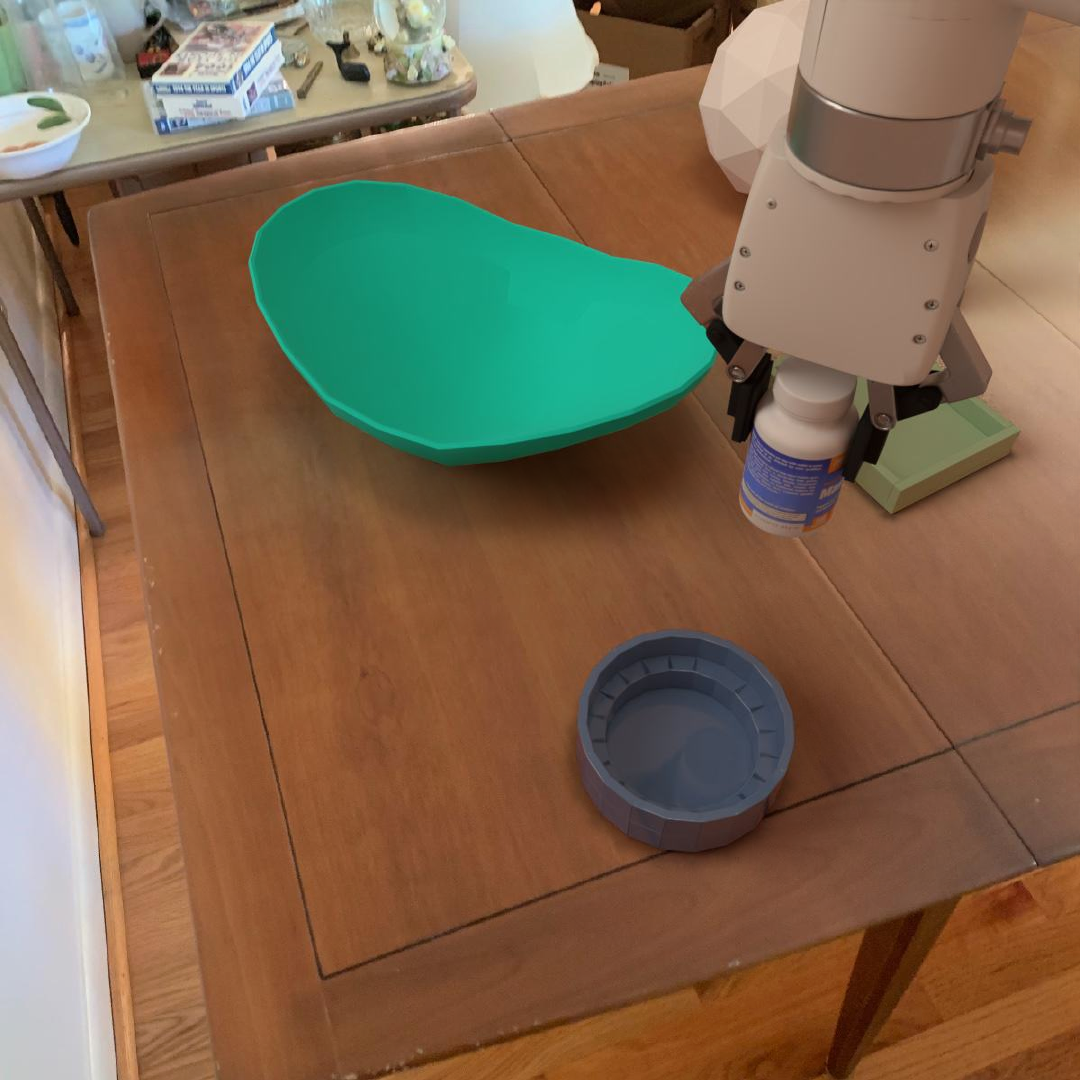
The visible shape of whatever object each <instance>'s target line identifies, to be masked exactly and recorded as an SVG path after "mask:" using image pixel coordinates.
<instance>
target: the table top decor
mask: <svg viewBox="0 0 1080 1080" xmlns="http://www.w3.org/2000/svg"><path fill="white" fill-rule="evenodd" d="M247 264H248V269H249V273H250V277H251V282H252V287H253V292H254V297H255V301H256V304H257V306H258V308H259V310H260V312H261V314H262V316H263V317H264V319H265V321H266V322H267V325H268V326H269V328H270V330H271V332H272V334H273V335H274V337H275V339H276V341H277V343H278V344H279V346H280V348H281V350H282V351H283V353H284V354H285V356H286V357H287V359H288V360H289V362H290V363H291V364H292V366H293V367H294V369H295V370H296V371H297V372H298V373H299V375H300V376H301V377H302V378H303V379H304V380H305V381H306V383H307V384H308V386H310V387H311V389H312V390H313V391H314V392H315V394H316V395H317V396H318V397H319V398H320V400H321V401H322V402H323V403H324V404H325V405H326V406H327V408H328V409H329V410H330V411H331V412H332V414H333V415H334V416H336V417H337V418H339V419H340V420H343V421H344V422H346V423H348V424H350V425H351V426H352V427H353V426H354V427H355V428H357V429H358V430H360V431H362V432H364V433H366V434H367V435H369V436H371V437H372V438H374V439H376V440H378V441H380V442H381V443H383V444H385V445H387V446H389V447H391V448H393V449H395V450H397V451H400V452H403V453H406V454H409V455H412V456H415V457H418V458H421V459H424V460H428V461H430V462H434V463H437V464H440V465H443V466H446V467H458V466H459V467H460V466H469V465H478V464H488V463H489V464H490V463H499V462H506V461H511V460H515V459H519V458H524V457H529V456H533V455H539V454H543V453H547V452H553V451H556V450H561V449H564V448H568V447H570V446H574V445H577V444H580V443H584V442H587V441H590V440H594V439H597V438H600V437H603V436H607V435H610V434H613V433H616V432H619V431H622V430H626V429H628V428H630V427H632V426H635V425H638V424H639V423H642V422H644V421H646V420H648V419H650V418H652V417H655V416H658V415H660V414H662V413H664V412H667V411H669V410H671V409H673V408H674V407H675V406H676V405H678V404H679V403H680V402H681V401H682V400H683V399H684V398H685V397H686V396H688V395H689V394H690V393H691V392H692V391H693V390H694V389H696V388H697V387H698V386H699V385H700V384H701V383H702V382H703V381H704V379H705V377H706V376H707V375H708V373H710V371H711V369H712V368H713V366H714V364H715V362H716V358H717V356H718V354H719V353H718V352H717V350H716V349H715V348H714V346H713V345H712V344H711V342H710V341H709V340H708V338H707V336H706V329H705V328H704V327H703V325H702V326H700V325H699V323H698V322H697V321H696V320H695V319H694V317H693V316H692V315H691V314H690V313H689V312H688V310H687V309H686V308H685V307H684V306H683V304H682V303H681V300H680V297H681V294H682V293H683V292H684V290H685V289H686V287H687V286H688V285H689V283H690V282H691V281H692V280H693V279H694V278H692V277H690V276H687V275H685V274H682V273H680V272H677V271H675V270H673V269H671V268H669V267H665V266H664V265H661V264H658V263H654V262H648V261H643V260H637V259H631V258H624V257H619V256H613V255H610V254H608V253H606V252H603V251H601V250H598V249H595V248H592V247H590V246H588V245H585V244H582V243H580V242H577V241H574V240H572V239H569V238H567V237H564V236H561V235H557V234H553V233H550V232H547V231H542V230H539V229H535V228H532V227H529V226H525V225H521V224H517V223H515V222H511V221H510V220H507V219H505V218H503V217H501V216H498V215H496V214H494V213H492V212H490V211H487V210H485V209H483V208H481V207H479V206H477V205H475V204H472V203H470V202H469V201H466V200H463V199H461V198H459V197H456V196H452V195H449V194H445V193H441V192H438V191H435V190H432V189H431V190H430V189H427V188H423V187H420V186H417V185H413V184H409V183H405V182H394V181H393V182H392V181H391V182H390V181H379V180H378V181H377V180H362V179H354V180H349V181H348V180H347V181H344V182H339V183H335V184H330V185H325V186H321V187H316V188H313V189H311V190H309V191H307V192H305V193H303V194H301V195H299V196H298V197H296V198H294V199H292V200H290V201H288V202H287V203H284V204H282V205H281V206H279V208H277V210H276V211H275V212H274V213H273V214H272V215H271V216H270V217H269V218H268V219H267V220H266V221H265V222H264V223H263V224H262V226H260V227H259V229H258V230H257V231H256V233H255V237H254V241H253V244H252V248H251V252H250V255H249V259H248V263H247Z"/></svg>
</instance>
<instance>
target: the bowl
mask: <svg viewBox="0 0 1080 1080" xmlns="http://www.w3.org/2000/svg"><path fill="white" fill-rule="evenodd" d="M576 722H577V724H576V726H577V727H576V744H575V745H576V748H575V757H576V758H575V759H576V763H577V767H578V770H579V775H580V779H581V782H582V786H583V788H584V790H585V792H586V793H587V795H588V796H589V798H590V799H591V801H592V803H593V804H594V805H595V807H596V809H597V810H598V811H599V813H600V814H601V815H602V816H603V817H604V818H605V819H606V820H608V822H610V823H611V824H612V825H613V826H615V827H616V828H617V829H619V830H620V831H621V832H622V833H624V835H626V836H628V837H630V838H633V839H635V840H637V841H639V842H642V843H645V844H647V845H649V846H652V847H654V848H656V849H659V850H666V851H676V852H688V853H697V852H702V851H706V850H711V849H715V848H720V847H725V846H728V845H729V844H731V843H733V842H735V841H737V840H738V839H739V838H742V836H744V835H746V834H747V833H750V832H751V831H752V830H754V829H755V828H756V827H757V826H758V825H759V823H760V822H761V821H762V819H763V818H764V817H765V816H766V814H767V813H768V812H769V810H770V809H772V806H773V805H774V804H775V801H776V798H777V796H778V793H779V791H780V789H781V786H782V784H783V782H784V779H785V778H786V775H787V772H788V768H789V765H790V761H791V759H792V756H793V752H794V749H795V746H796V740H795V724H794V723H795V722H794V713H793V710H792V708H791V705H790V702H789V700H788V698H787V696H786V694H785V691H784V689H783V687H782V684H781V683H780V682H779V681H778V680H777V678H775V676H774V675H773V674H772V672H770V670H769V669H768V668H767V667H766V665H765V664H764V663H763V662H762V661H761V660H760V659H759V658H757V657H756V656H754V655H753V654H751V653H750V652H748V651H747V650H745V649H744V648H743V647H741V646H740V645H738V644H736V643H735V642H733V641H731V640H729V639H725V638H723V637H719V636H717V635H713V634H711V633H708V632H705V631H703V630H702V631H701V630H689V629H688V630H687V629H677V628H668V629H663V630H658V631H652V632H647V633H642V634H638V635H636V636H634V637H632V638H630V639H628V640H626V641H624V642H622V643H621V644H619V645H617V646H615V647H613V648H612V649H611V650H610V651H609V652H608V653H607V654H605V656H604V657H602V659H601V660H599V662H598V663H597V664H596V665H594V666H593V668H592V669H591V670H590V673H589V675H588V678H587V679H586V682H585V683H584V685H583V687H582V690H581V692H580V694H579V701H578V713H577V721H576Z"/></svg>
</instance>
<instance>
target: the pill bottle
mask: <svg viewBox="0 0 1080 1080" xmlns="http://www.w3.org/2000/svg"><path fill="white" fill-rule="evenodd" d="M856 387H857V376H856V375H852V374H849V373H846V372H842V371H839V370H836V369H833V368H829V367H826V366H823V365H820V364H816V363H813V362H810V361H807V360H804V359H801V358H798V357H794V356H791V355H790V356H788V357H787V358H785V359H784V360H783V361H782V362H781V363H780V365H779V367H778V369H777V373H776V376H775V380H774V383H773V387H771V388H770V389H769V390H767V391H766V392H765V393H764V394H763V395H762V397H761V398H760V400H759V402H758V404H757V406H756V410H755V415H754V420H753V426H752V431H751V433H750V438H749V443H748V448H747V453H746V460H745V464H744V469H743V474H742V479H741V483H740V488H739V495H738V496H739V497H738V498H739V499H738V500H739V506H740V508H741V511H742V513H743V515H744V516H745V517H746V518H747V520H748V521H749V522H750V523H751V524H752V525H754V526H755V527H757V528H758V529H760V530H761V531H763V532H766V533H768V534H769V535H772V536H776V537H780V538H788V539H796V538H798V539H799V538H804V537H808V536H811V535H814V534H815V533H817V532H820V530H821V529H823V528H824V527H825V526H826V525H827V524H828V523H829V521H830V520H831V518H832V516H833V514H834V511H835V508H836V505H837V502H838V499H839V497H840V493H841V490H842V486H843V483H844V481H845V480H844V477H843V476H841V474H842V471H843V468H844V465H845V462H846V459H847V456H848V452H849V449H850V446H851V443H852V440H853V437H854V434H855V430H856V428H857V425H858V423H859V421H860V419H859V413H858V410H857V408H856V406H855V405H854V403H853V401H854V397H855V391H856Z"/></svg>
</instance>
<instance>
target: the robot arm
mask: <svg viewBox="0 0 1080 1080" xmlns="http://www.w3.org/2000/svg"><path fill="white" fill-rule="evenodd" d="M1029 12H1030V13H1034V14H1038V15H1041V16H1045V17H1049V18H1052V19H1055V20H1057V21H1061V22H1065V23H1067V24H1071V25H1074V26H1077V27H1080V0H810V4H809V9H808V14H807V19H806V24H805V29H804V35H803V40H802V46H801V52H800V58H799V63H798V67H797V72H796V78H795V83H794V89H793V94H792V100H791V105H790V110H789V113H788V114H786V115H784V116H783V117H782V118H781V119H780V120H779V121H778V122H777V124H776V126H775V128H774V130H773V132H772V134H771V136H770V138H769V141H768V143H767V145H766V148H765V150H764V153H763V155H762V158H761V161H760V163H759V166H758V169H757V171H756V174H755V177H754V180H753V183H752V186H751V189H750V193H749V195H747V200H746V203H745V206H744V210H743V214H742V217H741V220H740V223H739V227H738V231H737V235H736V238H735V243H734V247H733V250H732V253H731V254H729V255H727V256H726V257H725V258H724V259H722V260H721V261H719V262H717V263H716V264H714V265H713V266H711V267H710V268H708V269H707V270H705V271H704V272H702V273H701V274H699V275H698V276H696V277H694V278H692V279H693V280H692V281H691V282H690V283H689V285H688V286H687V287H686V289H685V290H684V292H683V293H682V294H681V297H680V300H681V303H682V304H683V306H684V307H685V308H686V309H687V310H688V312H689V313H690V314H691V315H692V316H693V317H694V319H695V320H696V321H697V322H698V323H699V325H700V326H702V325H703V327H704V328H705V329H706V336H707V338H708V340H709V341H710V342H711V344H712V345H713V346H714V348H715V349H716V350H717V352H718V354H719V356H720V357H721V359H722V360H723V361H724V362H725V363H726V368H725V375H726V376H727V378H728V379H729V380H730V381H732V382H731V388H730V392H729V397H728V404H727V410H726V415H727V416H729V417H732V418H734V422H733V427H732V432H731V438H730V441H731V442H735V443H738V444H742V443H746V441H747V440H748V438H749V436H751V431H752V426H753V420H754V415H755V410H756V406H757V404H758V402H759V400H760V398H761V397H762V395H763V394H764V393H765V392H766V391H767V390H768V386H769V382H770V377H771V372H772V368H773V363H774V361H773V360H774V359H773V360H772V356H773V353H770V352H768V351H769V350H773V351H776V352H779V353H782V354H785V355H787V354H788V355H791V356H794V357H798V358H801V359H804V360H807V361H810V362H813V363H816V364H820V365H823V366H826V367H829V368H833V369H836V370H839V371H842V372H846V373H849V374H852V375H856V376H859V377H863V378H866V379H867V389H868V398H869V402H868V404H867V406H866V408H865V411H864V413H863V415H862V417H861V419H860V421H859V423H858V425H857V428H856V430H855V434H854V437H853V440H852V443H851V446H850V449H849V452H848V456H847V459H846V462H845V465H844V468H843V471H842V474H841V476H843V477H844V480H843V481H847V482H849V483H855V482H856V481H855V479H856V477H857V475H858V472H859V470H860V468H861V466H862V464H863V462H867V463H870V464H873V465H876V464H877V462H878V460H879V457H880V455H881V453H882V450H883V448H884V445H885V442H886V440H887V437H888V434H889V431H890V430H891V429H893V428H894V427H895V425H896V423H897V422H898V421H901V420H904V419H907V418H911V417H914V416H917V415H920V414H923V413H926V412H929V411H932V410H934V409H936V408H937V407H938V406H939V405H940V404H943V403H947V402H948V403H949V404H950V403H953V402H957V401H961V400H965V399H969V398H973V397H976V396H978V397H980V396H982V395H984V394H985V393H986V392H987V389H988V386H989V384H990V382H991V378H992V376H993V369H992V367H991V365H990V363H989V361H988V359H987V358H986V356H985V354H984V352H983V350H982V348H981V346H980V345H979V343H978V341H977V339H976V337H975V335H974V334H973V332H972V330H971V328H970V326H969V324H968V322H967V320H966V318H965V316H964V315H963V313H962V311H961V309H960V308H961V304H962V301H963V299H964V296H965V293H966V289H967V286H968V283H969V280H970V277H971V273H972V270H973V267H974V264H975V261H976V258H977V254H978V251H979V248H980V244H981V240H982V237H983V233H984V230H985V227H986V221H987V217H988V212H989V211H988V210H989V207H990V201H991V197H992V192H993V185H994V176H995V167H996V166H995V160H994V158H993V156H992V155H995V156H997V155H998V154H999V153H1005V154H1009V155H1013V156H1020V153H1021V151H1022V149H1023V146H1024V144H1025V142H1026V140H1027V136H1028V134H1029V131H1030V129H1031V126H1032V123H1033V121H1034V119H1033V118H1030V117H1025V116H1020V115H1017V114H1014V113H1015V110H1012V109H1008V108H1005V106H1006V103H1007V99H1005V98H1001V95H1002V92H1003V90H1004V87H1005V84H1006V80H1005V79H1006V76H1007V73H1008V71H1009V68H1010V65H1011V62H1012V60H1013V56H1014V53H1015V51H1016V47H1017V45H1018V42H1019V40H1020V36H1021V33H1022V30H1023V28H1024V25H1025V22H1026V20H1027V16H1028V14H1029ZM938 357H940V359H941V361H942V362H943V364H944V366H945V368H943V371H938V370H931V368H932V366H933V365H934V363H936V361H937V359H938ZM930 370H931V371H930Z"/></svg>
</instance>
